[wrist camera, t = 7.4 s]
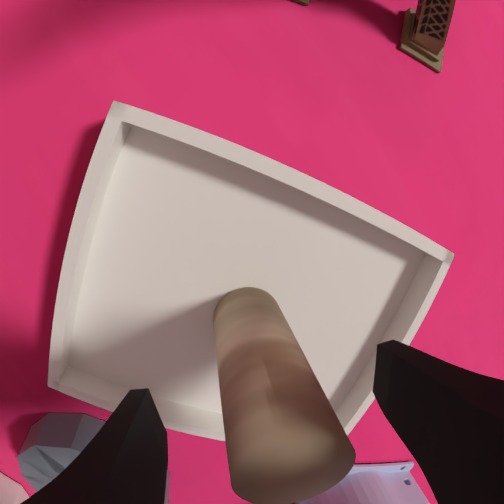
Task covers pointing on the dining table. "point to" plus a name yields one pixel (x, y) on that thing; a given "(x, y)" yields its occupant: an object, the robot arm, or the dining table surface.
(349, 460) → the pin
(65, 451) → the grey faceted ashtray
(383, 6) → the dining table surface
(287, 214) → the tray
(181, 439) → the dining table surface
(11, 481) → the jar
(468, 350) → the dining table surface
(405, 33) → the eiffel tower
